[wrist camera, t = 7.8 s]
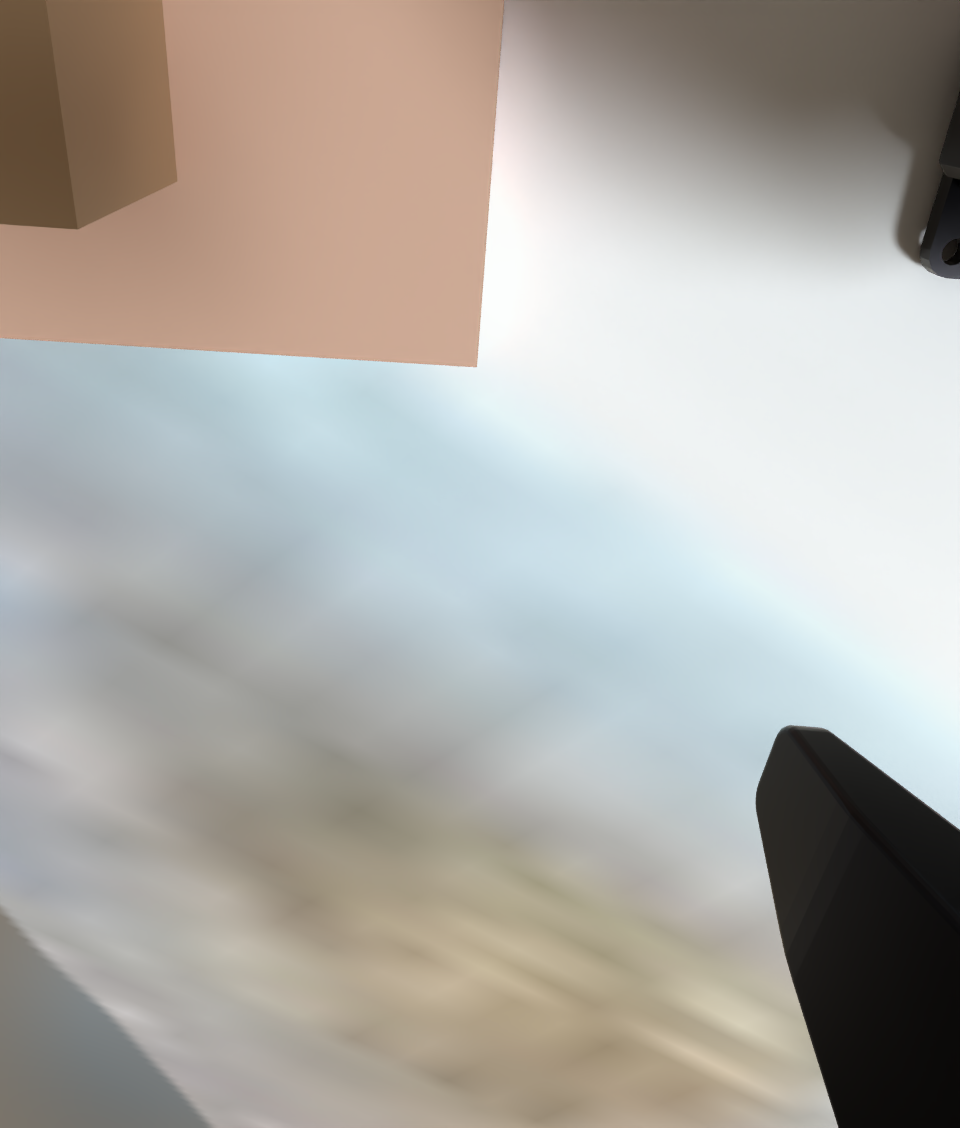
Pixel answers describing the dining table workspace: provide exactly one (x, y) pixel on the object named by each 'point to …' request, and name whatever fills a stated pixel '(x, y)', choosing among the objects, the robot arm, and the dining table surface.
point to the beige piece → (248, 174)
